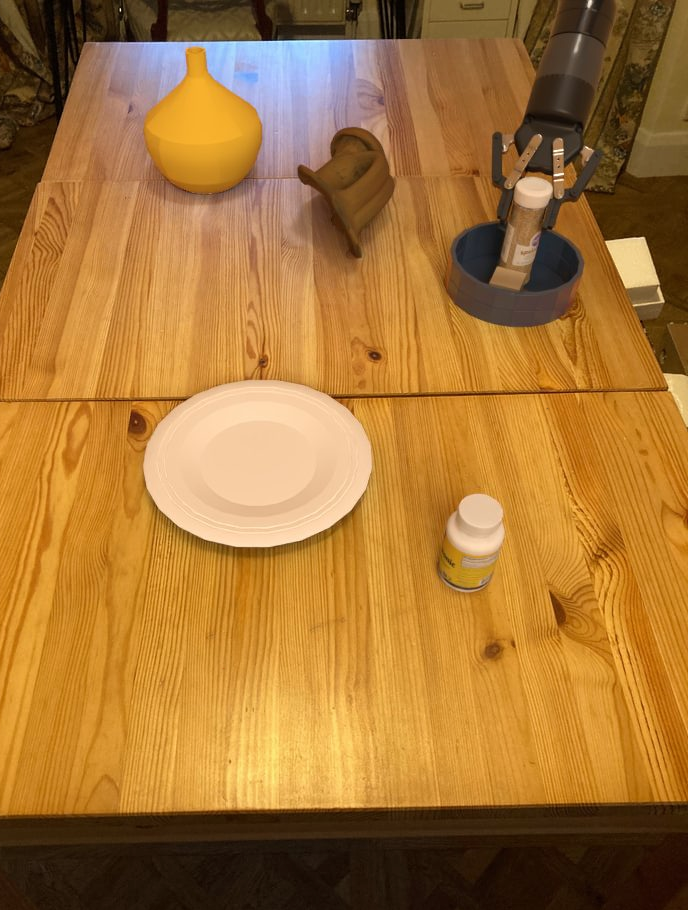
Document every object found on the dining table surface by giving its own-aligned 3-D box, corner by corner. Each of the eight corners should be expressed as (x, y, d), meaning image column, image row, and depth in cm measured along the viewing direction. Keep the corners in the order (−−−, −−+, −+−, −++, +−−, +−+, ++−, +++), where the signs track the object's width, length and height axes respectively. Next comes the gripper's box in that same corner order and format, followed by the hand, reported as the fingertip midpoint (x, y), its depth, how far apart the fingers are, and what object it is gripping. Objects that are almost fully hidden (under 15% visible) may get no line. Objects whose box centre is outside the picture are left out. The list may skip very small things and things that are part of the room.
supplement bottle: (434, 548, 78) (448, 485, 70) (488, 550, 78) (508, 487, 70) (438, 593, 75) (453, 532, 67) (494, 595, 75) (516, 534, 67)
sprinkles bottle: (522, 292, 103) (546, 198, 92) (490, 282, 104) (510, 188, 93) (534, 274, 105) (558, 180, 94) (502, 264, 106) (523, 171, 96)
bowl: (558, 255, 111) (568, 220, 107) (585, 331, 100) (597, 295, 96) (438, 254, 111) (444, 219, 107) (452, 330, 100) (459, 294, 96)
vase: (136, 203, 120) (112, 71, 105) (169, 147, 131) (152, 22, 117) (250, 214, 118) (243, 82, 103) (274, 157, 129) (270, 30, 115)
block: (491, 291, 105) (497, 266, 102) (520, 298, 104) (526, 273, 101) (483, 308, 102) (489, 282, 99) (512, 315, 101) (519, 289, 98)
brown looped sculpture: (235, 185, 109) (321, 104, 117) (269, 263, 118) (347, 182, 126) (336, 187, 98) (423, 96, 106) (365, 273, 107) (444, 183, 115)
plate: (117, 543, 78) (113, 531, 77) (176, 381, 94) (174, 369, 93) (360, 570, 76) (362, 559, 75) (379, 400, 92) (380, 388, 90)
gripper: (506, 62, 92) (465, 207, 94) (629, 81, 88) (583, 230, 91) (507, 91, 99) (468, 225, 101) (620, 109, 96) (578, 247, 98)
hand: (523, 227), depth 96 cm, fingers closed on sprinkles bottle, 4 cm apart
